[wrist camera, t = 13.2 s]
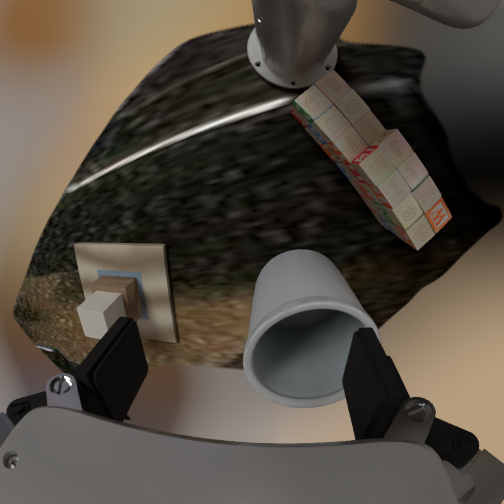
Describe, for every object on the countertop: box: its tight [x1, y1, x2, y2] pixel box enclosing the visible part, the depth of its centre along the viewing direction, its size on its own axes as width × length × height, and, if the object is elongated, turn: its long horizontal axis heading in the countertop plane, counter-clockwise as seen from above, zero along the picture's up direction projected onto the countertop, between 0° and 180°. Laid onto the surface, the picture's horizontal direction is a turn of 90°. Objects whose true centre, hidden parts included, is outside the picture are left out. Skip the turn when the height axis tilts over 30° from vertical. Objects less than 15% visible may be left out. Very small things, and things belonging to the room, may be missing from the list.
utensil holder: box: [243, 250, 381, 408], centre depth 35 cm, size 15×15×18 cm
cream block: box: [77, 291, 126, 339], centre depth 38 cm, size 5×5×6 cm
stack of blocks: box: [290, 70, 452, 250], centre depth 31 cm, size 21×6×12 cm, turn 43°
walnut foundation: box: [91, 275, 143, 323], centre depth 43 cm, size 7×7×4 cm
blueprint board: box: [74, 243, 178, 343], centre depth 45 cm, size 18×18×1 cm
